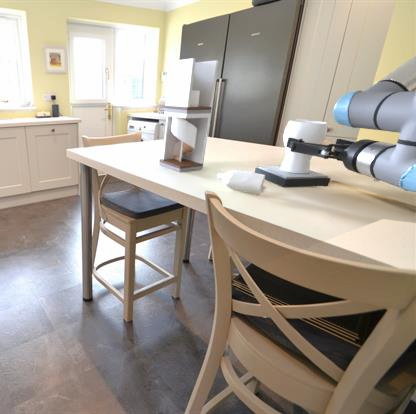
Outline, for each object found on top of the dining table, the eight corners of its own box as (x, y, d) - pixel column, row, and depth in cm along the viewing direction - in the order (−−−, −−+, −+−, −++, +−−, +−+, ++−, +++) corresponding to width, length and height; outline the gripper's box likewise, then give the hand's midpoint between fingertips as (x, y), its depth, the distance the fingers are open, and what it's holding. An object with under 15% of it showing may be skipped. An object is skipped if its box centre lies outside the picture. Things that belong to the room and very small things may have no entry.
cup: (278, 172, 87) (291, 122, 81) (272, 165, 96) (283, 119, 91) (319, 176, 84) (335, 124, 78) (308, 168, 93) (323, 121, 87)
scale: (295, 173, 99) (298, 165, 97) (330, 185, 86) (334, 176, 85) (253, 174, 96) (255, 165, 95) (283, 187, 84) (286, 177, 82)
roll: (218, 183, 86) (221, 165, 84) (261, 191, 80) (266, 172, 78) (212, 188, 81) (215, 169, 79) (258, 197, 75) (263, 176, 73)
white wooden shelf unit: (159, 164, 107) (168, 61, 94) (181, 162, 111) (193, 63, 98) (179, 172, 98) (193, 58, 84) (202, 169, 102) (218, 60, 89)
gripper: (309, 173, 64) (265, 154, 84) (424, 177, 63) (352, 156, 83) (319, 140, 62) (271, 128, 81) (439, 143, 60) (361, 130, 80)
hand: (312, 142), depth 82 cm, fingers open, 13 cm apart
